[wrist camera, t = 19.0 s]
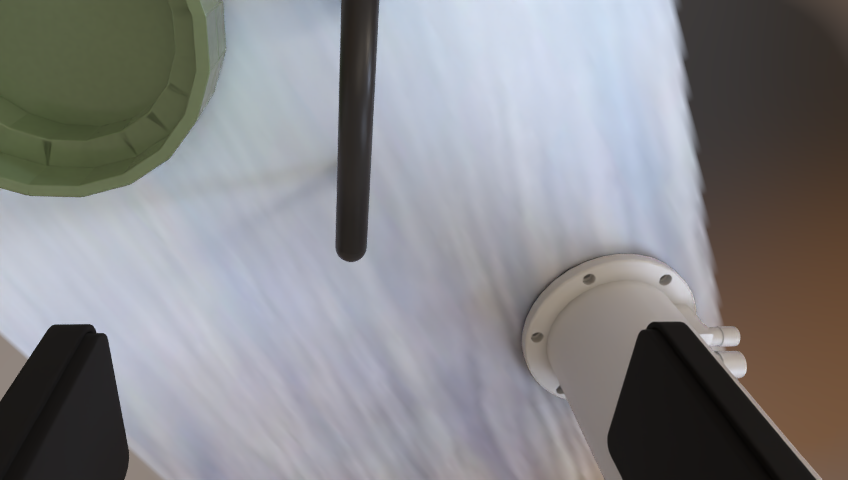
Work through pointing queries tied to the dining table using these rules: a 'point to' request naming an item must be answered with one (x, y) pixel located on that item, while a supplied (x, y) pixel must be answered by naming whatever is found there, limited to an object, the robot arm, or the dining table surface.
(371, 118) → the ladle
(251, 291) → the dining table surface
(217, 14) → the bowl
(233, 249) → the dining table surface
